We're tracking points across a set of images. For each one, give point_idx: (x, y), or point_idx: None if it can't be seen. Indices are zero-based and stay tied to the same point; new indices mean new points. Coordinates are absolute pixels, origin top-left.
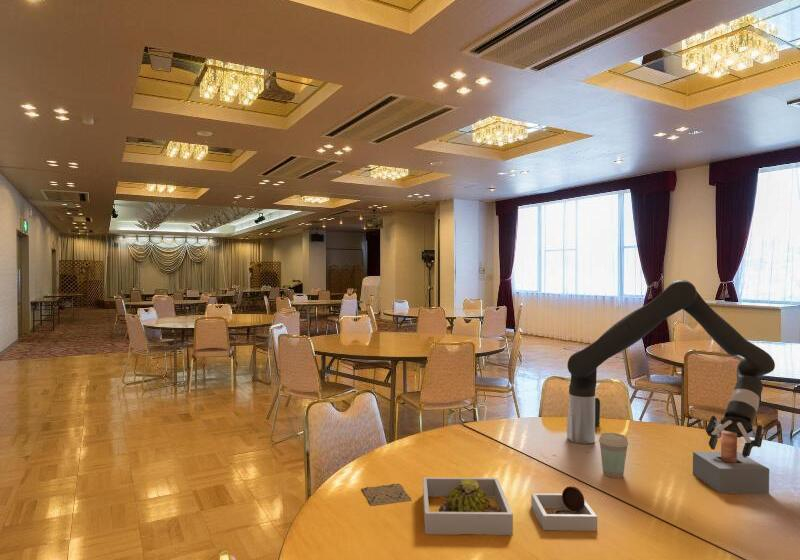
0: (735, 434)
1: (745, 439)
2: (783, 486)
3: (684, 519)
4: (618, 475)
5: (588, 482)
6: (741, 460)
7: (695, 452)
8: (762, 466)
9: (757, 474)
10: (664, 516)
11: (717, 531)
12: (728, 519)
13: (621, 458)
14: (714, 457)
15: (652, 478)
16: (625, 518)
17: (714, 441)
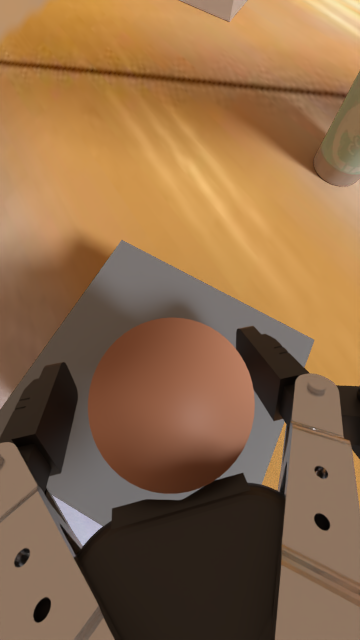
0: (93, 396)
1: (27, 467)
2: None
3: (96, 102)
4: (317, 152)
5: (314, 99)
6: None
7: (300, 338)
8: None
9: None
10: (126, 86)
11: (29, 105)
12: (39, 164)
13: (346, 100)
14: None
15: (283, 223)
16: (159, 39)
17: (255, 356)
